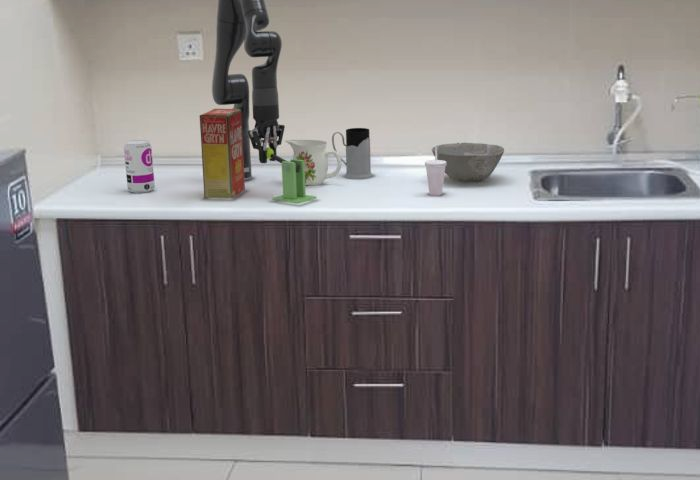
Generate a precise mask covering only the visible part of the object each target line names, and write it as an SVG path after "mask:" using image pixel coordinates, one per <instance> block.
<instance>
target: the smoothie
mask: <svg viewBox="0 0 700 480" xmlns="http://www.w3.org/2000/svg"><path fill="white" fill-rule="evenodd" d="M434 147H435V146H434ZM424 166H425V169H426V170H425V171H426V178H427V185H428V186H427V187H428V194H429V195H430V196H434V197H435V196H442V194H443V188H444V181H445V174H446V173H445V166H446V161H443V160H437V147H435V156H434V159H430V160H429V159H428V160H426V161H424Z"/></svg>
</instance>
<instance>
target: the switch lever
mask: <svg viewBox="0 0 700 480" xmlns="http://www.w3.org/2000/svg"><path fill="white" fill-rule="evenodd" d="M265 151H267V160H269V159H271V158H273V159H274V160H276V161H275V162H278V163H279V164H282V162H283V161H286V162H289V161H288V160H286V159H284V158H282V157H281V156H278V154H277V155H275V154H274V151H273V150H272V149H271V148H270V147H269V146H266V150H265ZM290 162H294V161H291V160H290ZM294 163H295V166H296V173H297V172H299V167H300V164H298V163H296V162H294Z"/></svg>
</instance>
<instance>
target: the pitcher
mask: <svg viewBox="0 0 700 480" xmlns="http://www.w3.org/2000/svg"><path fill="white" fill-rule="evenodd" d="M284 142H285V143H287V144H288V145H289V146H290V148H291V149H292V152H293V156H292V159H297V160H304V165H305V186H319V185H323V184H324V182H325V181H326V180H327V179H328V180H329V179H331V178H334V177H336V176H337V175H338V174H339V173H340V171H341V169H342V161H341V158H342V157H341V155H340V153H339V151H337V150H336V151H337V152H336V151H334V149H333V150H328V151H327V150H326V149H327V141H324V140H320V139H319V140H318V139H285V140H284ZM331 155H332V156H334V157H335V158H336V162H337V165H336V168H335V170H333V172H331V173H328V170H329V156H331ZM340 157H341V158H340Z"/></svg>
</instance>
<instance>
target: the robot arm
mask: <svg viewBox="0 0 700 480" xmlns="http://www.w3.org/2000/svg"><path fill="white" fill-rule="evenodd" d="M269 25H270V17H269V13H268V9H267V4H266V1H265V0H217V11H216V26H215V27H216V29H215V33H216V34H215V35H216V39H215V41H216V42H215V56H214V66H213V71H212V80H211V95H212V99H213V102H214V103H215V104H216V105H218V106H228V105H233V107H232V109H241V121H242V140H243V160H244V178H245V182H246V181H251V180H252V179H253V175H252V157H251V155H252V154H251V146H252V149H254V150H257V151H258V160H259V163H260V164H267V163H268V160H269V161H270V162H277V161H276V160H274V159H273V158H271V159H267V151H265V150H266V148H267V146H268V147H269V148H271V149H272V150H273V151H274V154H275V155H277V156H278V153H277V148H278V146H281V145H282V142H283V137H284V132H285V128H286V126H285V125H284V124H279V122H278V120H279V119H280V104H279V103H280V102H279V91H278V78H277V77H278V76H277V75H278V74H277V73H278V72H277V71H278V65H279V60H280V56H281V53H282V48H283V42H282V37H281V36H280V34H279V33H278V32H277V31H276V30H275V31H274V30H269V31H268V30H267V31H263V30H264V29H266V28H267V27H268V26H269ZM242 45H243V48H244V51H245V54H247V56H248V57H250V58H267V59H266V61H265V62H264V63H263V64H258V65H255V66H253V67H252V69H251V83H252V91H251V103H252V104H251V105H252V118H253V120H254V122H255V123H254V128H253V129H251V130H250V122H249V121H250V85H249V81H248V78H247V76H246V75H245V74H244V73H232V74H229V72H230V67H231V64H232V61H233V60H234V58H235V56H236V54H237V53H238V52H239V50H240V49H241V47H242Z"/></svg>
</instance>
